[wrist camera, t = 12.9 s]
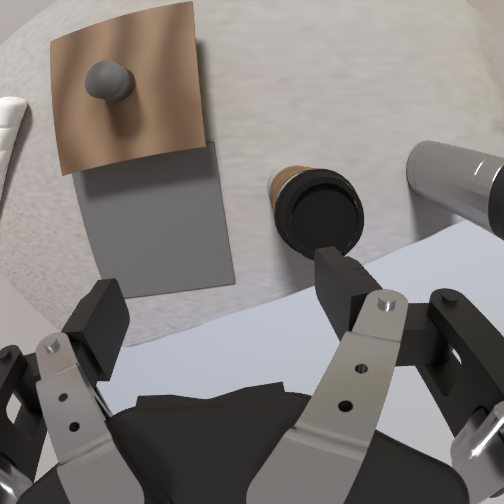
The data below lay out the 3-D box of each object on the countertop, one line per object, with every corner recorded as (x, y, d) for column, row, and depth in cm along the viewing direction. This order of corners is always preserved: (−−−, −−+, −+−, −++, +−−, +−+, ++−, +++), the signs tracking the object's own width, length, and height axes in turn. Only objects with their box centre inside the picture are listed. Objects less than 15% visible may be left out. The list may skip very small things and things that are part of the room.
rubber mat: (213, 142, 35) (213, 142, 35) (235, 281, 44) (235, 283, 43) (73, 173, 34) (71, 173, 34) (110, 298, 43) (109, 299, 42)
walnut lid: (192, 3, 24) (188, -17, 19) (206, 146, 32) (203, 150, 26) (53, 42, 23) (30, 34, 18) (65, 174, 30) (41, 184, 25)
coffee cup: (274, 226, 41) (302, 280, 27) (246, 172, 37) (262, 200, 24) (328, 199, 40) (380, 240, 26) (304, 144, 37) (352, 157, 23)
